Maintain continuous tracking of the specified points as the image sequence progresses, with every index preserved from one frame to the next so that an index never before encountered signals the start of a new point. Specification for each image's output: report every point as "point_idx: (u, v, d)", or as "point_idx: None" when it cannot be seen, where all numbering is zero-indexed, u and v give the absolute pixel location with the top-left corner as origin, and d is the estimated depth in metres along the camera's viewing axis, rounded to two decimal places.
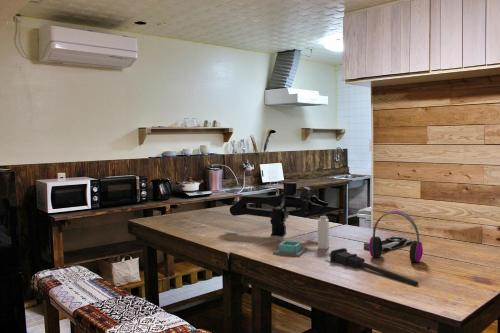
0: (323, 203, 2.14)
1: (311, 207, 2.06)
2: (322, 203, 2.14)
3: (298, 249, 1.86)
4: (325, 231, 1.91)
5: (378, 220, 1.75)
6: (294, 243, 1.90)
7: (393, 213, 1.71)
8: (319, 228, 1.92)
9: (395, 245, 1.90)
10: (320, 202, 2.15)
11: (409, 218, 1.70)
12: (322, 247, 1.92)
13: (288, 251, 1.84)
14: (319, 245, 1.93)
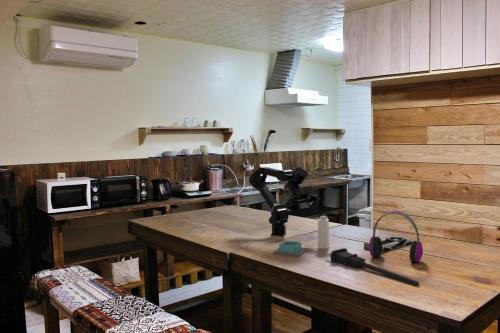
0: (316, 210, 2.04)
1: (296, 208, 2.00)
2: (315, 209, 2.04)
3: (298, 249, 1.86)
4: (325, 231, 1.91)
5: (378, 220, 1.75)
6: (294, 243, 1.90)
7: (393, 213, 1.71)
8: (319, 228, 1.92)
9: (395, 245, 1.91)
10: (315, 207, 2.05)
11: (409, 218, 1.70)
12: (322, 247, 1.92)
13: (288, 251, 1.84)
14: (319, 245, 1.93)
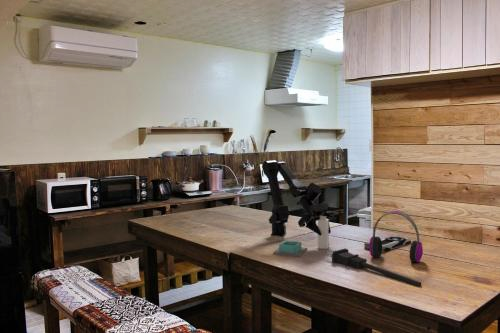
0: None
1: (312, 225, 1.94)
2: None
3: (298, 249, 1.86)
4: (325, 231, 1.91)
5: (378, 220, 1.75)
6: (294, 243, 1.90)
7: (393, 213, 1.71)
8: (319, 228, 1.92)
9: (395, 245, 1.91)
10: None
11: (409, 218, 1.70)
12: (322, 247, 1.92)
13: (288, 251, 1.84)
14: (319, 245, 1.93)
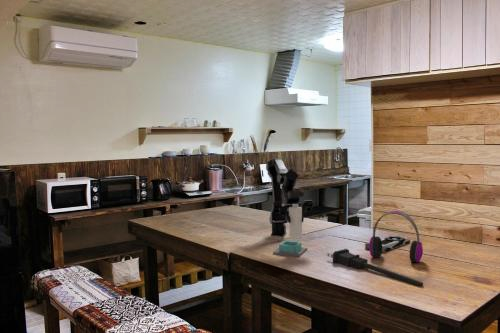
0: None
1: (284, 212, 1.89)
2: None
3: (298, 249, 1.86)
4: (295, 219, 1.85)
5: (378, 220, 1.75)
6: (294, 243, 1.90)
7: (393, 213, 1.71)
8: (290, 216, 1.87)
9: (395, 244, 1.92)
10: None
11: (409, 218, 1.70)
12: (292, 235, 1.87)
13: (288, 251, 1.84)
14: (290, 233, 1.88)
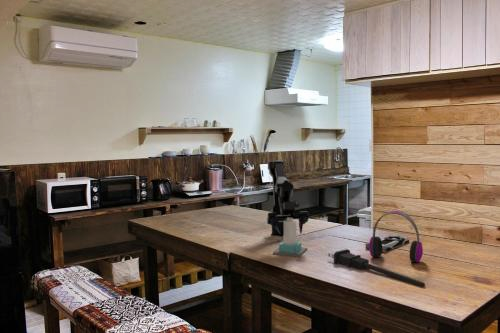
0: (300, 228, 1.88)
1: (276, 224, 1.89)
2: (300, 227, 1.89)
3: (298, 249, 1.86)
4: (288, 233, 1.85)
5: (378, 220, 1.75)
6: None
7: (393, 213, 1.71)
8: (284, 229, 1.87)
9: (395, 244, 1.92)
10: (300, 224, 1.89)
11: (409, 218, 1.70)
12: None
13: (288, 251, 1.84)
14: None
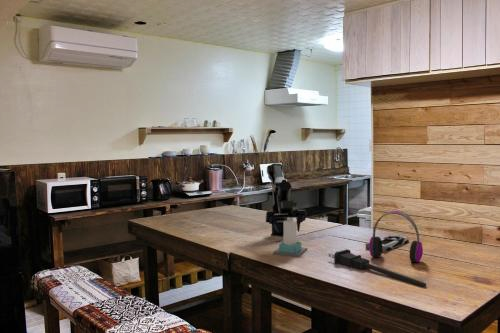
0: (297, 226, 1.93)
1: (274, 222, 1.94)
2: (297, 225, 1.93)
3: (298, 249, 1.86)
4: (288, 233, 1.85)
5: (378, 220, 1.75)
6: None
7: (393, 213, 1.71)
8: (284, 229, 1.87)
9: (395, 244, 1.92)
10: (297, 222, 1.94)
11: (409, 218, 1.70)
12: None
13: (288, 251, 1.84)
14: None
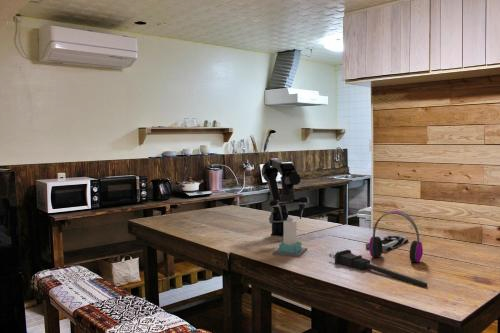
0: None
1: None
2: None
3: (298, 249, 1.86)
4: (288, 233, 1.85)
5: (378, 220, 1.75)
6: None
7: (393, 213, 1.71)
8: (284, 229, 1.87)
9: (395, 244, 1.92)
10: None
11: (409, 218, 1.70)
12: None
13: (288, 251, 1.84)
14: None
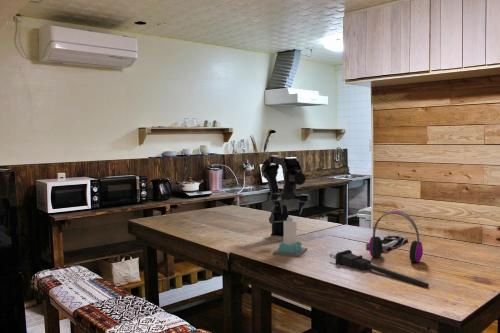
0: None
1: None
2: None
3: (298, 249, 1.86)
4: (288, 233, 1.85)
5: (378, 220, 1.75)
6: None
7: (393, 213, 1.71)
8: (284, 229, 1.87)
9: (395, 244, 1.93)
10: None
11: (409, 218, 1.70)
12: None
13: (288, 251, 1.84)
14: None
